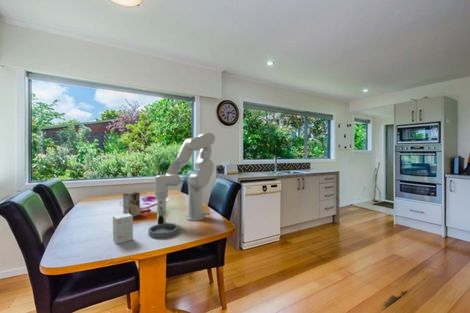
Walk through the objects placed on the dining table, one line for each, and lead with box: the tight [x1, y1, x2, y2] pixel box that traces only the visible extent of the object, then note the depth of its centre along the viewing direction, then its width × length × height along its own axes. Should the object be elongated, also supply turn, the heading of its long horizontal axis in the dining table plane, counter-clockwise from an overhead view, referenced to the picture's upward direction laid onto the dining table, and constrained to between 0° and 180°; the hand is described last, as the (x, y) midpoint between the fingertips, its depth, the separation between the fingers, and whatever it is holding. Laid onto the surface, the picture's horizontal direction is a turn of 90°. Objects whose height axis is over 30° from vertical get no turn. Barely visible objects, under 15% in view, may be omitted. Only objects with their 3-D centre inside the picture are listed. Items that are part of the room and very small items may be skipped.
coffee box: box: [122, 191, 141, 217], centre depth 162 cm, size 9×6×16 cm
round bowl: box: [147, 222, 179, 240], centre depth 130 cm, size 16×16×3 cm
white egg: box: [156, 213, 167, 225], centre depth 144 cm, size 5×5×7 cm
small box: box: [112, 213, 134, 245], centre depth 119 cm, size 8×6×13 cm
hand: (161, 221), depth 143 cm, fingers open, 9 cm apart
